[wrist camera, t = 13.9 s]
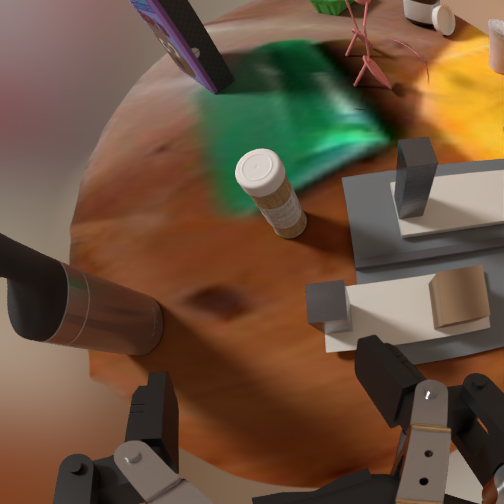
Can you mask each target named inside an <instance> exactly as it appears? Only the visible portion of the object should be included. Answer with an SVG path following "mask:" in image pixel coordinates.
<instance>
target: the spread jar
mask: <svg viewBox="0 0 504 504" xmlns="http://www.w3.org/2000/svg"><path fill="white" fill-rule="evenodd" d="M403 2H404V13H405V17H406V18H407V19H408V20H409V21H411V22H412V23H414V24H417V25H420V26H425V27H432V26H434V27H435V29H436V30H437V32H438V33H440V34H443V35H451V34H452V33H453V31H454V29H455V17H454V14H453V12H452V10H451V9H450V8H449V7H448V6H446V5H441V4H440V0H403Z"/></svg>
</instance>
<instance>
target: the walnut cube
mask: <svg viewBox="0 0 504 504" xmlns="http://www.w3.org/2000/svg"><path fill="white" fill-rule="evenodd" d="M428 285H429V292H430V300H431V307H432V316H433V325H434V329H439V328H444V327H450V326H455V325H460V324H465V323H470V322H475V321H477V320H480V319H482V318H485V317H487V316H490V309H489V302H488V296H487V289H486V284H485V278H484V273H483V268H482V265H476V266H470V267H464V268H458V269H452V270H446V271H440V272H437V273H436V275H435V276H434V277H433V279H432V280H431V281H430V282H429V284H428Z"/></svg>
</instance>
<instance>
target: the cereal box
mask: <svg viewBox="0 0 504 504" xmlns="http://www.w3.org/2000/svg"><path fill="white" fill-rule="evenodd" d="M129 1H130V3H131V4H132V5H133V7H134V8H135V9H136V10H137V12H138V13H139V14H140V16H141V17H142V18H143V20H144V21H145V22H146V24H147V25H148V26H149V28H150V29H151V30H152V31H153V33H154V34H155V36H156V37H157V38H158V40H159V41H160V42H161V44H162V45H163V47H164V48H165V49H166V50H167V52H168V53H169V55H170V56H171V57H172V59H173V60H174V62H175V63H176V64H177V66H178V67H179V69H181V70H182V71H183V72H185V73H186V74H188V75H189V76H191V77H192V78H193V79H195V80H196V81H197V82H199V83H200V84H202V85H203V86H204V87H206V88H207V89H208V90H210V91H211V92H213V93H214V94H215V95H216V94H217V93H218V92H220V91H221V90H222V89H224V88H225V87H226V86H228V85H229V84H230V83H232V82H233V81H235V80H234V78H233V76H232V74H231V72H230V71H229V69H228V67H227V65H226V64H225V62H224V60H223V58H222V57H221V55H220V53H219V51H218V50H217V48H216V46H215V44H214V43H213V41H212V39H211V38H210V36H209V34H208V33H207V31H206V29H205V28H204V26H203V24H202V23H201V21H200V19H199V18H198V16H197V14H196V13H195V11H194V10H193V8H192V6H191V5H190V3H189V2H188V0H129Z"/></svg>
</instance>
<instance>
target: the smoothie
mask: <svg viewBox="0 0 504 504" xmlns="http://www.w3.org/2000/svg"><path fill="white" fill-rule="evenodd" d="M488 28H489V67H490V68H491V69H492V70H493V71H495V72H497V73H499V74H504V21H501V20H497V19H491V20H489V23H488Z"/></svg>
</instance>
